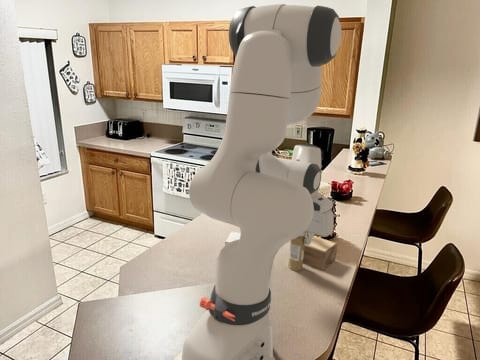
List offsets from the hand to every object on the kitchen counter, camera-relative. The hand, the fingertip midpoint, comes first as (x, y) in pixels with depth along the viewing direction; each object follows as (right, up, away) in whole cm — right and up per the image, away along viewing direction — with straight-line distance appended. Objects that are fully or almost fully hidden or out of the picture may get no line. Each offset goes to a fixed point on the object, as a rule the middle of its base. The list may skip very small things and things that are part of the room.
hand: (297, 240), depth 111 cm
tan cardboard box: (+7, -8, +7) cm, 13 cm away
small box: (-19, -9, -1) cm, 21 cm away
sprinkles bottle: (0, -9, +2) cm, 9 cm away
